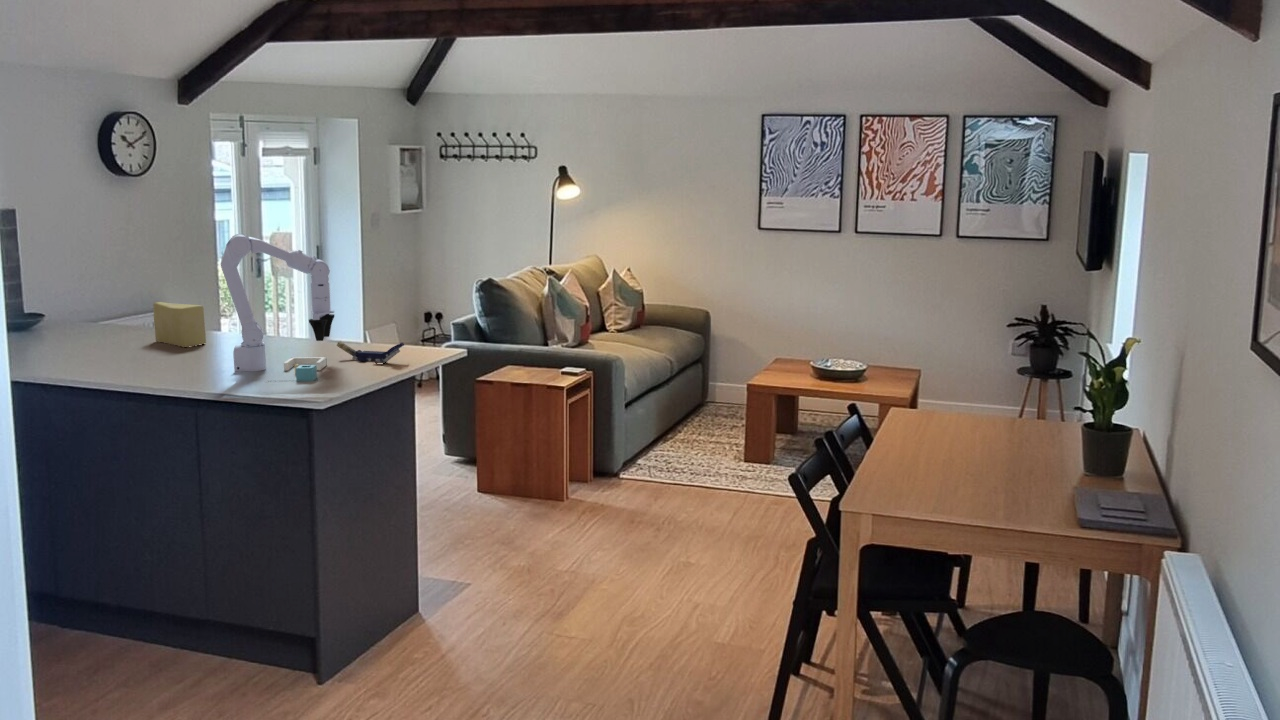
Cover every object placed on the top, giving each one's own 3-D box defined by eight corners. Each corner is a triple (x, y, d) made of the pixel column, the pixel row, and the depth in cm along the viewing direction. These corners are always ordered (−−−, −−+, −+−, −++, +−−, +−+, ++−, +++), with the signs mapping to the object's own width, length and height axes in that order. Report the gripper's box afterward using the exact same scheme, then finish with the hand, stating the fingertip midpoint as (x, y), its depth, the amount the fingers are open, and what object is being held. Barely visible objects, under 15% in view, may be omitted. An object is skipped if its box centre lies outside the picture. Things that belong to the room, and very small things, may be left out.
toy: (390, 375, 375) (395, 346, 373) (328, 358, 378) (333, 329, 376) (402, 369, 384) (407, 341, 382) (342, 353, 388) (346, 324, 385)
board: (264, 385, 347) (263, 372, 346) (289, 367, 374) (288, 355, 373) (321, 384, 347) (320, 371, 346) (341, 366, 374) (340, 354, 373)
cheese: (145, 343, 420) (142, 303, 418) (168, 339, 429) (165, 300, 426) (184, 348, 409) (181, 307, 406) (207, 344, 417) (204, 304, 414)
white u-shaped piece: (284, 370, 363) (283, 362, 362) (291, 365, 372) (291, 357, 371) (320, 370, 363) (319, 362, 363) (326, 364, 372) (326, 357, 372)
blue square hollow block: (296, 381, 347) (295, 368, 347) (300, 377, 352) (300, 365, 351) (313, 380, 347) (312, 368, 347) (317, 377, 352) (316, 364, 352)
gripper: (327, 300, 362) (329, 342, 365) (338, 294, 376) (340, 334, 379) (305, 300, 362) (307, 342, 364) (317, 294, 376) (319, 334, 379)
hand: (322, 338), depth 372 cm, fingers open, 7 cm apart
